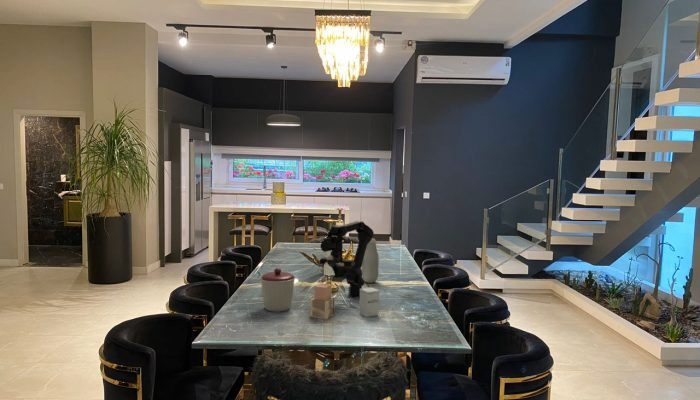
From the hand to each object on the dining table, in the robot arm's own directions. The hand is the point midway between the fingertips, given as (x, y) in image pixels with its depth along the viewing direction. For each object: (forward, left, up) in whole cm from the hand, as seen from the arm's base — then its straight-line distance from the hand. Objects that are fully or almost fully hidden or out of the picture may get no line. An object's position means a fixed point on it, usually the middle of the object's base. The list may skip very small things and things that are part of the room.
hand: (336, 277), depth 269 cm
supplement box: (-8, +26, -13) cm, 30 cm away
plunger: (+14, +20, -12) cm, 28 cm away
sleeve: (+15, +21, -13) cm, 29 cm away
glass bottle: (-33, -32, -13) cm, 48 cm away
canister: (+33, +3, -13) cm, 36 cm away
